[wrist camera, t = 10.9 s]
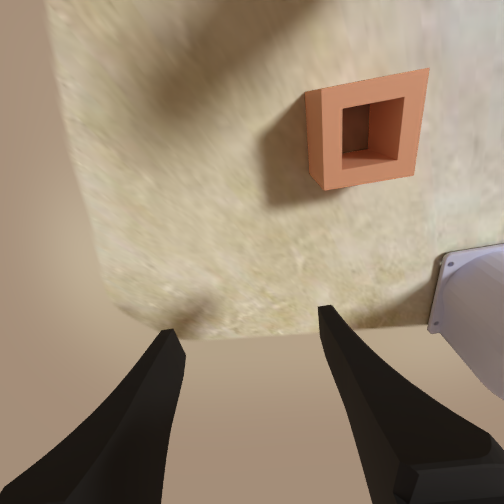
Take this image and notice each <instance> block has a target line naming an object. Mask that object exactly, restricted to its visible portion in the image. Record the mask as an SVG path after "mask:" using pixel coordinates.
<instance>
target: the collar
mask: <svg viewBox="0 0 504 504" xmlns="http://www.w3.org/2000/svg"><path fill="white" fill-rule="evenodd" d="M429 69H430V68H425V69H420V70H415V71H410V72H404V73H399V74H394V75H388V76H383V77H378V78H373V79H368V80H363V81H358V82H353V83H348V84H343V85H338V86H333V87H327V88H322V89H317V90H312V91H307V92H305V105H306V122H307V140H308V158H309V174H310V175H311V176H312V177H313V179H314V180H315V181H316V182H317V183H318V184H319V185H320V186H321V188H322V189H323V190H324V191H325V190H331V189H337V188H343V187H349V186H355V185H360V184H366V183H372V182H378V181H384V180H390V179H396V178H402V177H408V176H413V175H414V171H415V164H416V157H417V150H418V143H419V137H420V130H421V123H422V116H423V110H424V103H425V96H426V89H427V82H428V76H429ZM369 103H370V113H369V131H368V149H364V150H358V151H353V152H347V153H342V109H343V108H348V107H353V106H359V105H364V104H369Z"/></svg>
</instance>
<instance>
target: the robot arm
mask: <svg viewBox="0 0 504 504" xmlns="http://www.w3.org/2000/svg"><path fill="white" fill-rule="evenodd" d="M449 262H450V263H449ZM448 263H449V264H448ZM318 316H319V330H320V338H321V342H322V345H323V349H324V353H325V356H326V359H327V362H328V365H329V367H330V370H331V372H332V375H333V377H334V380H335V383H336V385H337V388H338V390H339V393H340V396H341V398H342V401H343V403H344V406H345V409H346V412H347V415H348V418H349V422H350V425H351V429H352V432H353V435H354V439H355V442H356V446H357V449H358V453H359V456H360V460H361V463H362V467H363V471H364V474H365V478H366V482H367V485H368V489H369V493H370V496H371V500H372V503H373V504H504V450H503V449H502V447H501V446H500V445H499V444H498V443H497V442H496V441H495V439H494V438H493V437H492V436H491V435H490V434H489V433H488V432H486V431H484V430H482V429H481V428H479V427H477V426H476V425H474V424H472V423H471V422H469V421H467V420H466V419H464V418H462V417H461V416H459V415H457V414H456V413H454V412H453V411H451V410H450V409H448V408H447V407H445V406H443V405H442V404H440V403H439V402H437V401H436V400H435V399H433V398H432V397H430V396H429V395H428V394H426V393H425V392H423V391H422V390H420V389H419V388H418V387H416V386H415V385H413V384H412V383H411V382H409V381H408V380H407V379H405V378H404V377H403V376H402V375H400V374H399V373H398V372H397V371H395V370H394V369H393V368H392V367H391V366H389V365H388V364H387V363H386V362H385V361H383V359H381V358H380V357H379V356H378V355H377V354H376V353H375V352H374V351H373V350H372V349H371V348H370V347H369V346H367V345H366V343H364V341H363V340H362V339H361V338H360V337H359V336H358V335H357V334H356V333H355V332H354V331H353V330H352V329H351V328H350V327H349V326H348V324H347V323H346V322H345V321H344V320H343V319H342V317H341V316H340V315H339V314H338V312H337V311H336V310H335V308H334V307H333V306H332V305H326V306H320V307H318ZM427 330H428V331H429V332H430V333H431V334H434V333H440V334H441V335H442V336H443V337H444V338H445V340H446V341H447V342H448V343H449V344H450V345H451V347H452V348H453V349H454V350H455V351H456V353H457V354H458V355H459V356H460V357H461V359H462V360H463V361H464V362H465V363H466V364H467V366H468V367H469V368H470V369H471V370H472V372H473V373H474V374H475V375H476V376H477V377H478V379H479V380H480V381H481V382H482V383H483V384H484V385H485V386H486V387H487V388H488V389H489V390H490V391H491V392H492V393H494V394H495V395H497V396H498V397H499V398H501V399H503V400H504V244H498V245H492V246H486V247H480V248H474V249H467V250H461V251H455V252H450V253H447V254H445V255H444V257H443V260H442V264H441V269H440V273H439V278H438V282H437V287H436V291H435V296H434V300H433V305H432V309H431V314H430V318H429V323H428V327H427ZM185 360H186V355H185V352H184V350H183V348H182V346H181V344H180V342H179V340H178V338H177V336H176V333H175V331H174V329H167V330H161V332H160V333H159V335H158V336H157V337H156V338H155V340H154V341H153V342H152V344H151V345H150V346H149V348H148V349H147V350H146V351H145V353H144V354H143V356H142V357H141V358H140V359H139V361H138V362H137V363H136V364H135V366H134V367H133V368H132V369H131V371H130V372H129V373H128V374H127V376H126V377H125V378H124V379H123V380H122V381H121V383H120V384H119V385H118V386H117V387H116V389H115V390H114V391H113V392H112V393H111V394H110V395H109V396H108V397H107V398H106V399H105V400H104V402H103V403H102V404H101V405H100V406H99V407H98V408H97V409H96V410H95V411H94V412H93V413H92V414H91V415H90V416H89V417H88V418H87V419H85V421H83V422H82V423H81V424H80V425H79V426H78V427H77V428H76V429H75V430H74V431H73V432H72V433H71V434H69V435H68V436H67V437H66V438H65V439H64V440H63V441H61V442H60V443H59V444H58V445H57V446H56V447H54V449H52V450H51V451H50V452H48V453H47V455H45V456H44V457H42V459H40V460H39V461H37V462H36V463H35V464H34V465H32V466H31V467H30V468H28V469H27V470H26V471H25V472H23V473H22V474H21V475H19V476H18V477H17V478H15V479H14V480H13V481H12V482H10V483H9V484H8V485H6V486H5V487H4V488H3V490H2V491H1V493H0V504H161V498H162V489H163V480H164V472H165V464H166V456H167V450H168V444H169V437H170V431H171V427H172V422H173V418H174V414H175V410H176V406H177V401H178V397H179V394H180V389H181V385H182V381H183V376H184V368H185Z"/></svg>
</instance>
